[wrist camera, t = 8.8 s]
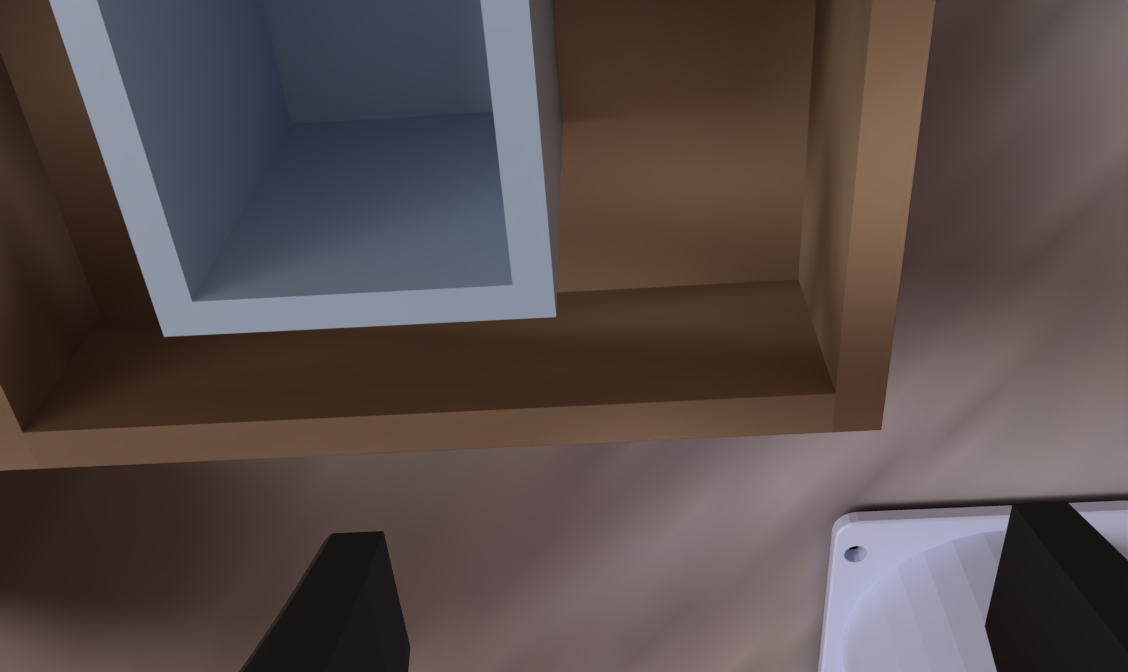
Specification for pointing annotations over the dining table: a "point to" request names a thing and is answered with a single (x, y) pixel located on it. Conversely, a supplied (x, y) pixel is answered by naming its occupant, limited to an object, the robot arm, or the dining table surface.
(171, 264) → the box
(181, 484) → the dining table surface
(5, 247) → the big crate
